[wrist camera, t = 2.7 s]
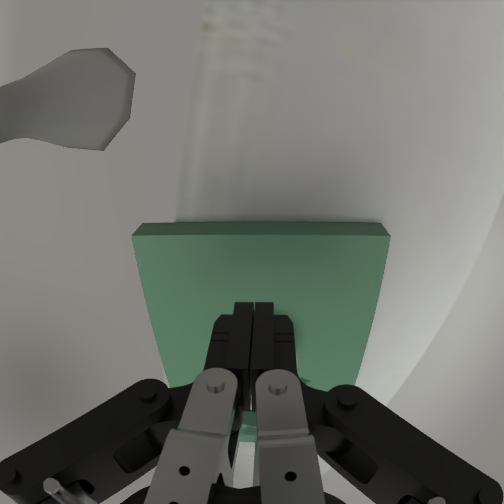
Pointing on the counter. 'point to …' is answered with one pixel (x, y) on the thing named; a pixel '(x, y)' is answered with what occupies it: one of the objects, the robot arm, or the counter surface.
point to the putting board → (263, 291)
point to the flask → (70, 101)
